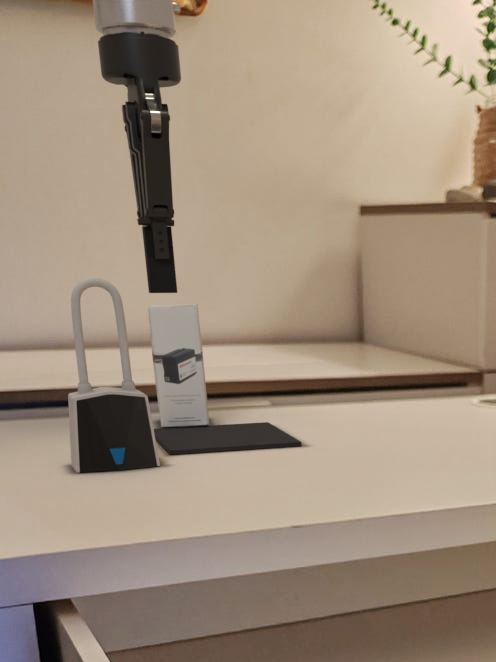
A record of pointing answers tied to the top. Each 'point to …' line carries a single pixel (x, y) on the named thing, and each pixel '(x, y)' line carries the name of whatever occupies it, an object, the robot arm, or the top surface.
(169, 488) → the top surface
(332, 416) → the top surface
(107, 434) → the padlock
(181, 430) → the mat
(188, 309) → the ink box
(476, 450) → the top surface
